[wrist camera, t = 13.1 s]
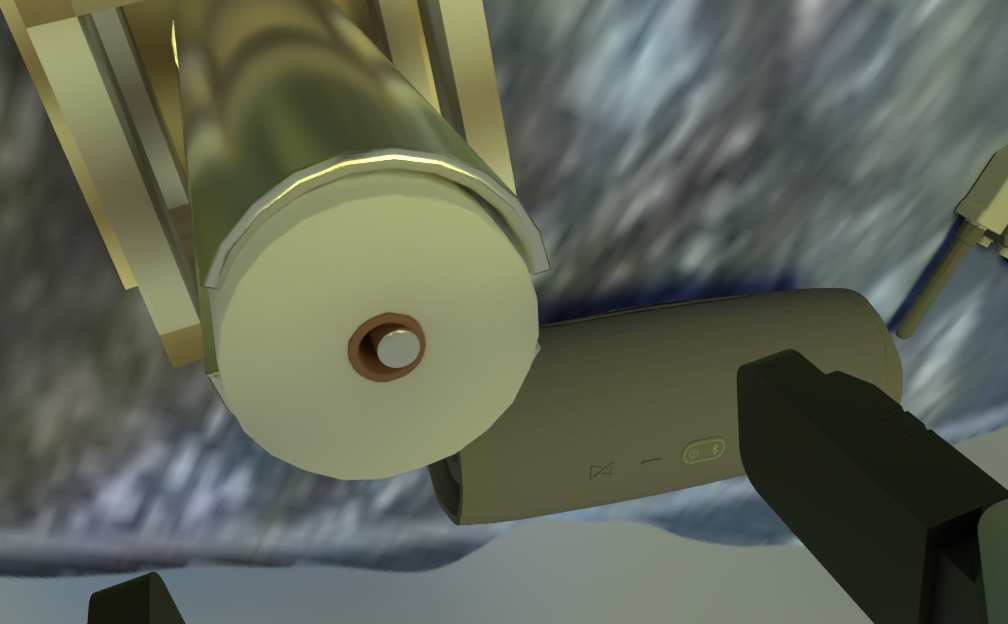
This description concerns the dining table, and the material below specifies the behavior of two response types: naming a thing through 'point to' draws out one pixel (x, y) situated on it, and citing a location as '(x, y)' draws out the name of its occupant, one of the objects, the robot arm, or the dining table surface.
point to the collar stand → (158, 127)
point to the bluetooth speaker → (649, 400)
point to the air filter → (345, 245)
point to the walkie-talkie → (968, 234)
